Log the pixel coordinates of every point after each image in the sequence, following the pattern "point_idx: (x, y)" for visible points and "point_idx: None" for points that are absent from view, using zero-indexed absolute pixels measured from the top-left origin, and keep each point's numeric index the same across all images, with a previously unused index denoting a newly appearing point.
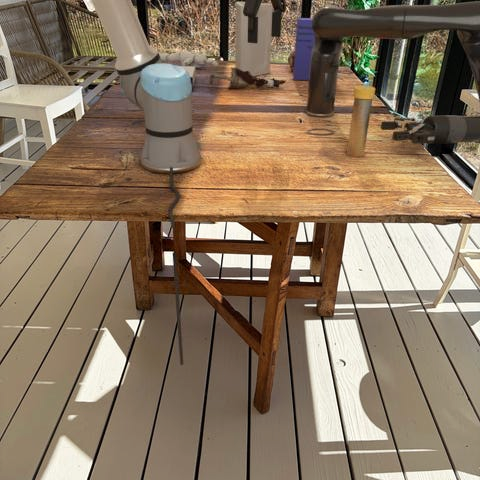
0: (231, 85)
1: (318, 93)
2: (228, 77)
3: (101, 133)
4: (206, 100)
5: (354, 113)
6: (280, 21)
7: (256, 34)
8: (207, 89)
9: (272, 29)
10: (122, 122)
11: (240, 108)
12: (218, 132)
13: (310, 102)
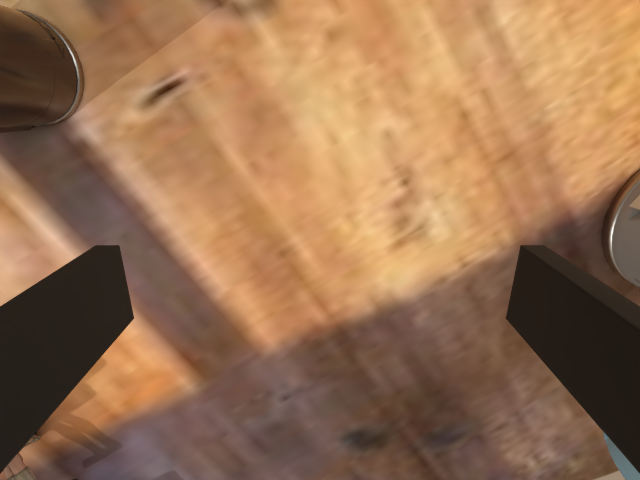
0: (37, 435)
1: (14, 51)
2: (16, 466)
3: (544, 447)
4: (182, 421)
5: None
6: (10, 316)
7: (591, 276)
8: (91, 471)
9: (100, 344)
10: (457, 460)
11: (180, 315)
12: (412, 250)
13: (51, 93)
